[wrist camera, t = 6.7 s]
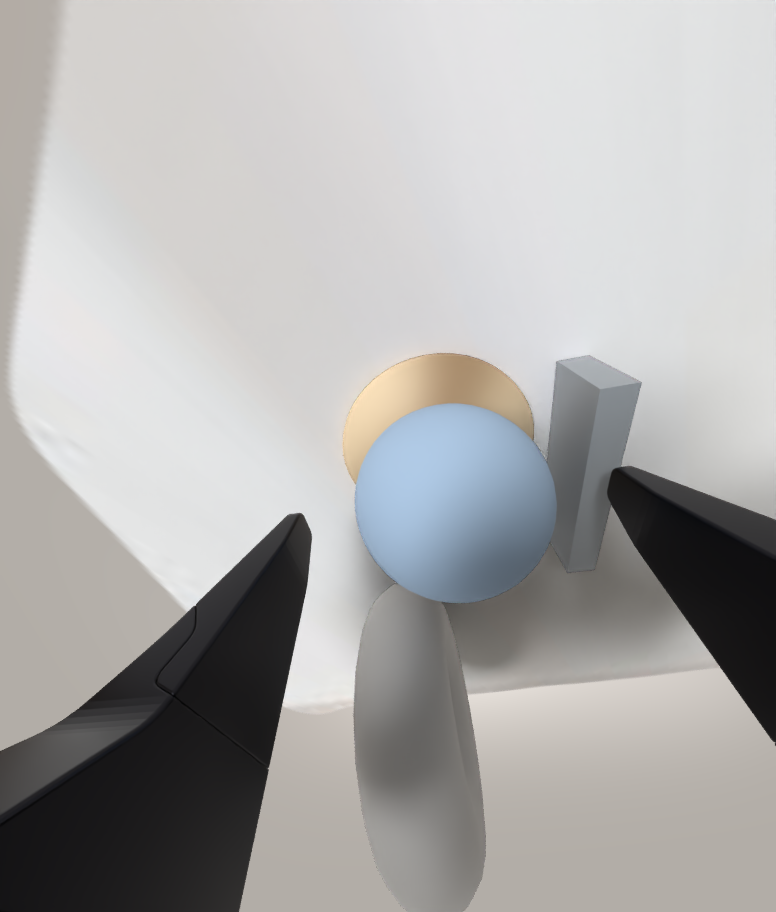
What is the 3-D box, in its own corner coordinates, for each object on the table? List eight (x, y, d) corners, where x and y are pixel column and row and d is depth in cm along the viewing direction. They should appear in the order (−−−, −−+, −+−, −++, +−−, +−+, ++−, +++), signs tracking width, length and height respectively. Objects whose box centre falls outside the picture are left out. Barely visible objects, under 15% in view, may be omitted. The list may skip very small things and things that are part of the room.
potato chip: (536, 333, 10) (540, 335, 9) (526, 502, 13) (529, 507, 13) (319, 374, 10) (317, 377, 10) (366, 524, 14) (366, 529, 14)
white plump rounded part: (354, 544, 15) (307, 917, 7) (425, 529, 14) (474, 917, 6) (407, 647, 20) (419, 930, 12) (460, 640, 20) (514, 931, 11)
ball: (513, 496, 13) (584, 635, 8) (379, 514, 13) (373, 655, 9) (516, 360, 10) (632, 458, 5) (345, 392, 10) (308, 505, 6)
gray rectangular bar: (589, 355, 10) (641, 382, 8) (564, 522, 14) (594, 569, 12) (556, 361, 10) (600, 389, 8) (541, 525, 14) (567, 573, 12)
